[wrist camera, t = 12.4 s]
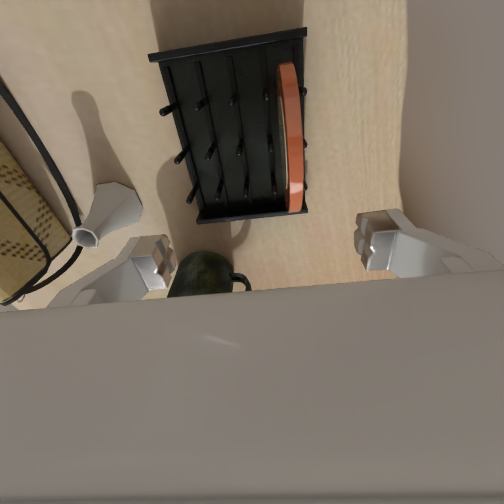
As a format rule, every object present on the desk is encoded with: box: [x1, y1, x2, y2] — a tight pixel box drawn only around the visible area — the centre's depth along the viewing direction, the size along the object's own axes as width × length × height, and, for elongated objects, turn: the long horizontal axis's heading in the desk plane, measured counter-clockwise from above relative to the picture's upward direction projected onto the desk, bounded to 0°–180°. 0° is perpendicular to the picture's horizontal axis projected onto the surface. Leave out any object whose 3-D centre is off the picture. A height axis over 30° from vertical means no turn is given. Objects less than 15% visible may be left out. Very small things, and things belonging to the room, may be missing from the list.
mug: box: [167, 252, 252, 298], centre depth 43 cm, size 11×15×12 cm
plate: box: [277, 62, 304, 213], centre depth 27 cm, size 14×1×14 cm, turn 7°
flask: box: [72, 182, 142, 248], centre depth 37 cm, size 7×7×10 cm
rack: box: [148, 27, 308, 224], centre depth 32 cm, size 20×16×7 cm
